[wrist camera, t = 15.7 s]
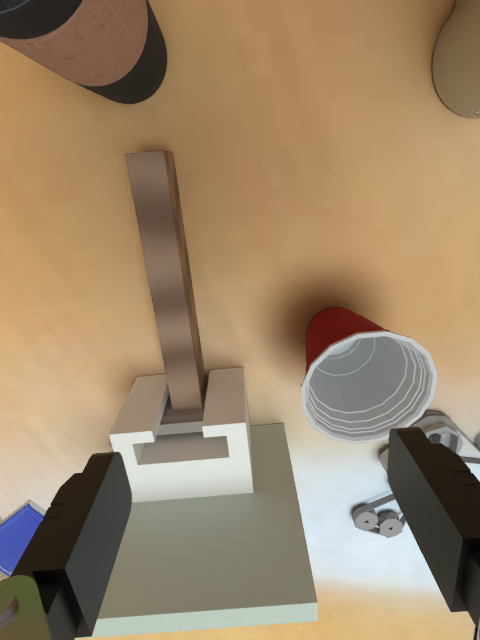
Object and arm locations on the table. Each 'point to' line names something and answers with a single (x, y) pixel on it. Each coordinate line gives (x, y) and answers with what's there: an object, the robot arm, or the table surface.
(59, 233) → the table surface
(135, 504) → the grey upright panel
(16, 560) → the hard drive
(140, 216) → the post on square base
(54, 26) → the travel mug
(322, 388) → the plastic cup
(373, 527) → the pulley system
